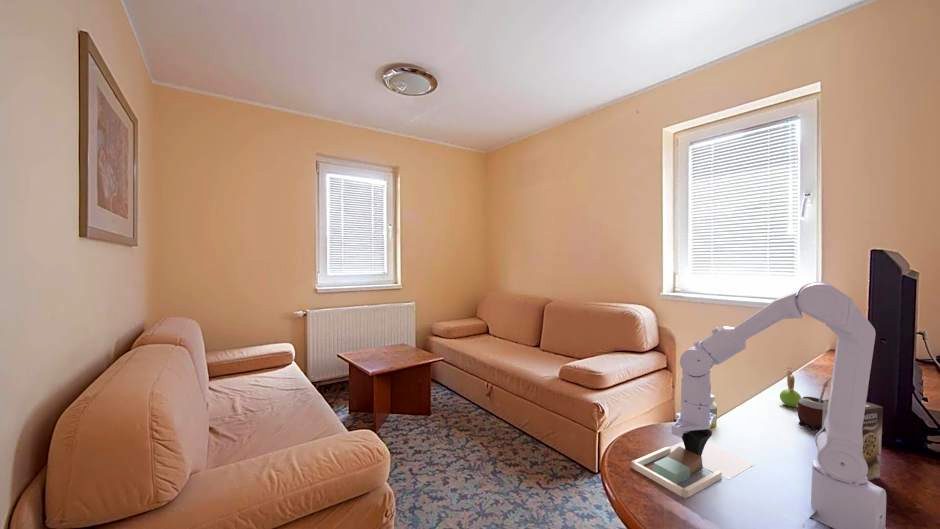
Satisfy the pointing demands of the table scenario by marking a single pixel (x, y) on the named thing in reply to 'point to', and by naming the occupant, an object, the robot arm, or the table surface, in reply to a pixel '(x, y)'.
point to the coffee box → (868, 436)
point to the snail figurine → (790, 392)
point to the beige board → (720, 461)
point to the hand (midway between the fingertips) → (693, 459)
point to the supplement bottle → (713, 409)
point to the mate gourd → (812, 410)
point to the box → (667, 483)
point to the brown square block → (687, 459)
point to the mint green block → (671, 470)
